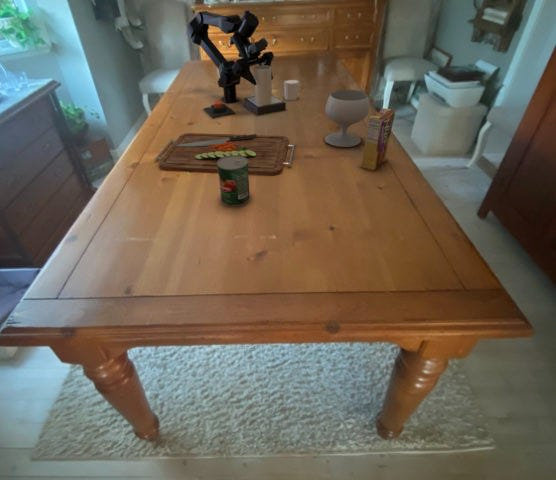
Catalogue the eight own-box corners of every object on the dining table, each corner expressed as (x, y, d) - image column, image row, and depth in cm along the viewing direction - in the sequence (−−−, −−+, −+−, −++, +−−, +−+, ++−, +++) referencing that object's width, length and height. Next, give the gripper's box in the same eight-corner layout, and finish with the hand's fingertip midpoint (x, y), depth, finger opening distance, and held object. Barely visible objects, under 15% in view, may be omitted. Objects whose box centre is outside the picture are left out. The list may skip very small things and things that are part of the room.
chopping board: (148, 169, 111) (146, 160, 109) (176, 135, 130) (174, 127, 128) (288, 176, 104) (289, 166, 102) (296, 140, 123) (296, 131, 121)
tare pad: (203, 110, 150) (202, 103, 149) (224, 106, 153) (224, 100, 151) (212, 118, 142) (211, 112, 140) (235, 114, 145) (234, 108, 143)
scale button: (213, 106, 147) (212, 102, 146) (221, 104, 148) (220, 100, 147) (215, 108, 144) (215, 104, 143) (223, 107, 146) (223, 103, 144)
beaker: (254, 105, 142) (252, 69, 134) (256, 99, 147) (255, 65, 138) (270, 105, 141) (270, 69, 133) (272, 99, 146) (272, 65, 138)
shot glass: (297, 101, 154) (298, 83, 150) (282, 100, 156) (282, 83, 151) (299, 96, 159) (300, 79, 155) (284, 95, 161) (284, 79, 156)
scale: (243, 105, 153) (243, 97, 151) (269, 100, 157) (269, 92, 154) (257, 115, 143) (257, 107, 140) (285, 110, 146) (285, 101, 144)
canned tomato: (216, 204, 94) (211, 166, 87) (228, 189, 100) (224, 153, 92) (243, 208, 92) (240, 170, 84) (254, 194, 97) (252, 157, 90)
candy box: (372, 156, 112) (383, 107, 101) (385, 160, 109) (397, 110, 99) (359, 167, 107) (368, 116, 96) (372, 171, 105) (383, 119, 94)
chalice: (336, 152, 115) (343, 104, 105) (315, 137, 124) (318, 92, 114) (371, 144, 119) (380, 97, 108) (347, 130, 128) (354, 86, 118)
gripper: (234, 34, 126) (256, 73, 127) (271, 27, 135) (291, 63, 136) (223, 56, 135) (243, 92, 137) (257, 48, 144) (276, 81, 146)
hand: (264, 82), depth 139 cm, fingers open, 9 cm apart
